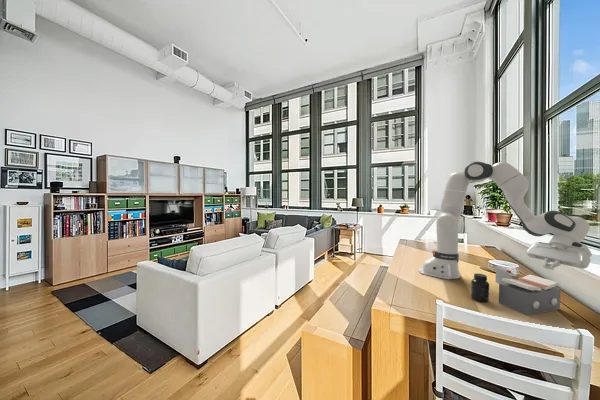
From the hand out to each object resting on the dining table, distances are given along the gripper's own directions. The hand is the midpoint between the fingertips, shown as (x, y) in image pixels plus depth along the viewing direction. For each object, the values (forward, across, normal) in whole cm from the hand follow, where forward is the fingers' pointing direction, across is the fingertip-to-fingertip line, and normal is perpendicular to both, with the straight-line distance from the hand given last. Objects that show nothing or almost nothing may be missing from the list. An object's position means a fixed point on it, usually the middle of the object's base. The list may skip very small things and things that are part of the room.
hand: (547, 268), depth 106 cm
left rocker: (+18, 0, -7) cm, 19 cm away
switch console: (+20, 0, +3) cm, 20 cm away
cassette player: (+10, -18, +13) cm, 25 cm away
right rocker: (+10, 0, +1) cm, 10 cm away
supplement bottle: (+31, -10, -8) cm, 33 cm away
